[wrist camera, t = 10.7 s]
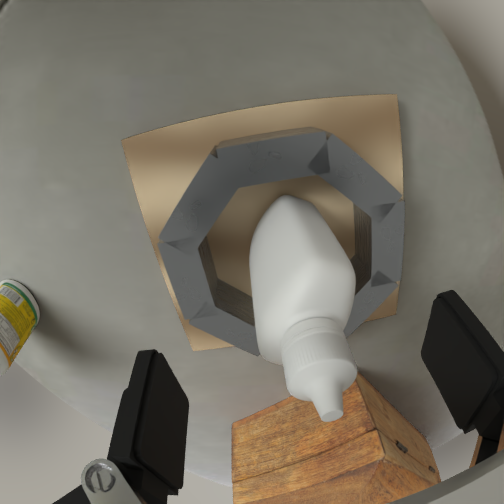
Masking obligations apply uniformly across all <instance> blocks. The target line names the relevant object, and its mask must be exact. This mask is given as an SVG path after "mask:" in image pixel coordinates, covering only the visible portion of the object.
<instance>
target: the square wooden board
mask: <svg viewBox="0 0 504 504" xmlns="http://www.w3.org/2000/svg"><path fill="white" fill-rule="evenodd" d="M309 126H312V127H315V128H319V129H322V130H324V131H327V132H330V133H333V134H334V135H335V136H336V137H338V138H339V139H340V140H341V141H342V142H344V143H345V144H346V145H347V146H348V147H350V148H351V149H352V150H353V151H354V152H356V153H357V154H358V155H359V156H360V157H361V158H363V159H364V160H365V161H366V162H367V163H368V164H369V165H370V166H372V167H373V168H374V169H375V170H376V171H377V172H378V173H379V174H380V175H382V176H383V177H384V178H385V179H386V180H387V181H388V182H389V183H390V184H391V185H392V186H393V187H394V188H395V189H396V190H397V191H399V192H400V193H401V194H402V197H401V199H403V163H402V144H401V130H400V119H399V109H398V100H397V95H396V94H380V95H357V96H341V97H329V98H318V99H309V100H300V101H292V102H284V103H277V104H271V105H264V106H258V107H252V108H246V109H241V110H236V111H230V112H225V113H220V114H216V115H211V116H207V117H202V118H198V119H194V120H189V121H185V122H181V123H177V124H173V125H170V126H166V127H162V128H159V129H155V130H152V131H148V132H145V133H141V134H138V135H135V136H132V137H128V138H126V139H123V140H121V141H122V145H123V149H124V153H125V157H126V160H127V164H128V168H129V171H130V175H131V178H132V182H133V185H134V189H135V192H136V195H137V199H138V202H139V205H140V208H141V212H142V215H143V218H144V221H145V224H146V227H147V230H148V233H149V236H150V239H151V242H152V245H153V248H154V251H155V254H156V257H157V259H158V262H159V265H160V268H161V271H162V273H163V276H164V279H165V282H166V284H167V287H168V290H169V292H170V295H171V297H172V300H173V303H174V305H175V308H176V310H177V313H178V315H179V318H180V320H181V323H182V325H183V328H184V330H185V332H186V335H187V337H188V340H189V342H190V344H191V347H192V349H193V351H199V350H208V349H216V348H224V347H231V346H234V345H231V344H229V343H227V342H225V341H223V340H221V339H219V338H217V337H215V336H212V335H210V334H208V333H206V332H204V331H202V330H200V329H198V328H196V327H194V326H192V325H190V324H189V319H187V320H185V319H184V317H183V314H182V311H181V309H180V306H179V304H178V301H177V298H176V296H175V293H174V290H173V288H172V285H171V282H170V280H169V277H168V274H167V271H166V268H165V266H164V263H163V260H162V257H161V254H160V251H159V248H158V245H157V243H158V242H159V240H160V239H159V238H158V236H159V235H160V233H161V231H162V229H163V228H164V226H165V224H166V222H167V221H168V219H169V217H170V215H171V214H172V212H173V210H174V209H175V207H176V205H177V204H178V202H179V200H180V199H181V197H182V195H183V194H184V192H185V191H186V189H187V187H188V186H189V184H190V183H191V181H192V179H193V178H194V176H195V175H196V173H197V172H198V170H199V168H200V167H201V165H202V164H203V162H204V161H205V159H206V158H207V156H208V155H209V153H210V152H211V150H212V149H213V147H214V146H215V145H216V146H218V145H219V143H220V141H224V140H229V139H234V138H240V137H245V136H250V135H256V134H262V133H268V132H274V131H281V130H287V129H294V128H302V127H309ZM283 195H291V196H294V197H297V198H300V199H303V200H306V201H308V202H311V203H312V204H313V205H315V207H316V208H317V209H318V211H319V212H320V214H321V215H322V217H323V218H324V220H325V221H326V223H327V224H328V226H329V228H330V229H331V231H332V232H333V234H334V235H335V237H336V238H337V240H338V242H339V243H340V245H341V246H342V248H343V250H344V251H345V253H346V255H347V257H348V258H349V260H350V259H351V258H352V257H353V256H354V255H355V230H354V210H353V202H352V201H351V200H349V199H348V198H347V197H346V196H344V195H343V194H342V193H341V192H339V191H338V190H337V189H335V188H334V187H333V186H332V185H330V184H329V183H328V182H326V181H325V180H324V179H322V178H321V177H320V176H319V175H312V176H306V177H299V178H293V179H287V180H281V181H275V182H269V183H263V184H258V185H252V186H247V187H241V188H238V190H237V191H236V192H235V194H234V195H233V197H232V198H231V200H230V201H229V202H228V204H227V205H226V207H225V208H224V210H223V211H222V213H221V214H220V215H219V217H218V218H217V220H216V221H215V223H214V224H213V226H212V227H211V229H210V230H209V232H208V233H207V235H206V236H207V239H208V243H209V247H210V251H211V254H212V258H213V262H214V265H215V269H216V273H217V276H218V278H219V279H220V280H222V281H224V282H226V283H228V284H229V285H231V286H233V287H235V288H237V289H238V290H240V291H242V292H244V293H246V294H248V295H249V296H251V297H252V288H251V278H250V267H249V254H250V246H251V241H252V237H253V234H254V231H255V229H256V227H257V225H258V223H259V221H260V219H261V217H262V216H263V214H264V213H265V212H266V210H267V209H268V208H269V207H270V205H271V204H272V203H273V202H274V201H275V200H276V199H277V198H279V197H280V196H283ZM399 282H400V281H397V282H396V283H397V284H398V285H399ZM398 292H399V286H398V287H397V288H396V289H395V290H394V291H393V292H392V293H391V294H390V295H389V296H388V297H387V298H386V299H385V301H384V302H383V303H382V304H381V305H380V306H379V307H378V308H377V309H376V310H375V311H374V312H373V313H372V314H371V315H370V316H369V317H368V318H367V319H366V320H365V321H364V322H367V321H371V320H375V319H379V318H384V317H388V316H391V315H395V314H396V310H397V302H398Z"/></svg>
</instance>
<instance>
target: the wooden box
mask: <svg viewBox="0 0 504 504" xmlns="http://www.w3.org/2000/svg"><path fill="white" fill-rule="evenodd" d="M342 397H343V416H342V417H341V418H339V419H337V420H335V421H331V422H324V421H322V420H321V418H320V416H319V414H318V412H317V410H316V408H315V405H314V403H313V402H312V401H303V400H300V399H297V398H295V397H294V396H291V397H289V398H287V399H285V400H283V401H281V402H279V403H277V404H275V405H273V406H270V407H268V408H266V409H264V410H262V411H259V412H257V413H255V414H253V415H251V416H249V417H246V418H244V419H242V420H239V421H237V422H234V423H233V424H232V483H233V503H234V504H387V503H390V502H392V501H395V500H398V499H401V498H404V497H406V496H409V495H412V494H414V493H417V492H419V491H422V490H424V489H427V488H429V487H431V486H434V485H436V484H438V483H440V482H441V479H440V476H439V471H438V468H437V466H436V463H435V460H434V457H433V454H432V451H431V449H430V447H429V444H428V443H427V441H426V439H425V437H424V436H423V435H422V434H421V433H420V432H418V430H417V429H415V428H414V427H413V426H412V425H411V424H410V423H409V422H408V421H407V420H406V419H405V418H404V417H403V416H402V415H401V414H400V413H399V412H398V411H397V410H396V409H395V408H394V407H393V406H392V405H391V404H390V403H389V402H388V401H387V400H386V399H385V398H384V397H383V396H382V395H381V394H380V393H379V392H378V391H377V390H376V389H375V388H374V387H373V386H372V385H371V384H370V383H369V382H368V381H367V380H366V379H365V378H364V377H363V376H362V375H361V374H360V373H359V372H357V376H356V379H355V380H354V382H353V383H352V385H351V386H350V387H349V388H348V389H346V390H345V391H344V392H342Z"/></svg>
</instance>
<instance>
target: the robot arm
mask: <svg viewBox="0 0 504 504" xmlns="http://www.w3.org/2000/svg"><path fill="white" fill-rule="evenodd" d="M421 356H422V359H423V361H424V363H425V365H426V367H427V368H428V370H429V372H430V374H431V376H432V378H433V379H434V381H435V383H436V385H437V387H438V389H439V391H440V393H441V395H442V397H443V398H444V400H445V402H446V404H447V406H448V408H449V410H450V412H451V414H452V416H453V418H454V421H455V423H456V425H457V426H458V428H460V429H463V431H464V433H465V434H466V433H468V432H470V431H472V430H474V429H475V428H476V429H477V431H478V433H479V436H478V440H477V444H476V448H475V451H474V454H473V458H472V461H471V464H470V467H469V469H467V470H465V471H463V472H461V473H459V474H457V475H455V476H453V477H451V478H449V479H447V480H445V481H443V482H440V483H438V484H436V485H434V486H431V487H429V488H427V489H424V490H422V491H419V492H417V493H414V494H412V495H409V496H406V497H404V498H401V499H398V500H395V501H392V502H390V503H387V504H504V352H503V351H502V349H501V348H500V347H499V345H498V344H497V343H496V341H495V340H494V339H493V337H492V336H491V335H490V333H489V332H488V331H487V330H486V328H485V327H484V326H483V324H482V323H481V322H480V321H479V319H478V318H477V317H476V316H475V315H474V313H473V312H472V311H471V310H470V308H469V307H468V306H467V305H466V304H465V302H464V301H463V300H462V299H461V298H460V297H459V295H458V294H457V293H456V292H455V291H454V290H450V291H446V292H443V293H440V294H438V295H437V297H436V299H435V300H434V301H433V305H432V310H431V314H430V319H429V323H428V327H427V331H426V335H425V339H424V342H423V346H422V350H421ZM188 412H189V402H188V398H187V396H186V394H185V393H184V391H183V389H182V388H181V386H180V384H179V382H178V381H177V379H176V377H175V375H174V374H173V372H172V370H171V368H170V366H169V365H168V363H167V361H166V359H165V357H164V355H163V354H162V353H158V352H157V350H155V349H153V350H143V351H139V352H138V354H137V356H136V360H135V364H134V367H133V371H132V374H131V378H130V382H129V386H128V388H127V389H125V390H124V392H123V395H122V398H121V402H120V406H119V410H118V414H117V418H116V422H115V426H114V430H113V434H112V438H111V443H110V447H109V452H108V457H107V460H106V459H96V460H94V461H91V462H90V463H89V464H88V465H86V467H85V468H84V470H83V472H82V475H81V483H82V484H81V485H80V486H78V487H77V488H76V489H74V490H73V491H71V492H69V493H68V494H66V495H65V496H64V497H62V498H61V499H59V500H57V501H56V502H54V503H53V504H167V496H168V495H178V489H181V488H182V487H183V476H184V463H185V449H186V436H187V423H188Z"/></svg>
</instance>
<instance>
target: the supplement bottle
mask: <svg viewBox="0 0 504 504" xmlns="http://www.w3.org/2000/svg"><path fill="white" fill-rule="evenodd" d="M39 317H40V312H39V307H38V305H37V302H36V300H35V299H34V297H33V295H32V294H31V293H30V292H29V291H28V289H27V288H25V287H24V286H23V285H22V284H20V283H19V282H17V281H14V280H4V281H2V282H1V283H0V376H2V375H4V374H5V373H6V372H7V370H8V369H9V367H10V366H11V364H12V362H13V361H14V359H15V358H16V356H17V354H18V353H19V351H20V350H21V348H22V346H23V345H24V343H25V342H26V340H27V339H28V337H29V336H30V334H31V333H32V332H33V330H34V329H35V327H36V325H37V324H38V321H39Z"/></svg>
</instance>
